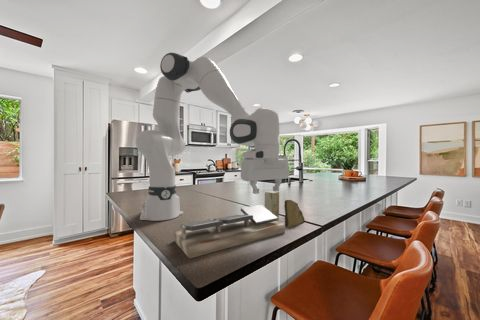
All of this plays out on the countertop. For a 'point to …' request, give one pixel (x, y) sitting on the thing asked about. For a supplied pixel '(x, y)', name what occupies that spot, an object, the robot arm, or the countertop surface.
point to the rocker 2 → (259, 214)
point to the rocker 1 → (202, 225)
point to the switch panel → (224, 236)
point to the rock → (292, 213)
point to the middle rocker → (235, 218)
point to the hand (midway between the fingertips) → (266, 192)
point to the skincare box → (272, 202)
